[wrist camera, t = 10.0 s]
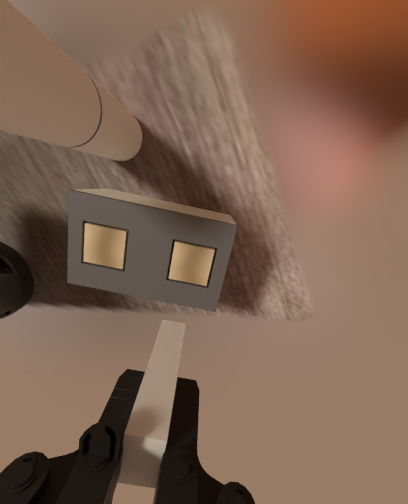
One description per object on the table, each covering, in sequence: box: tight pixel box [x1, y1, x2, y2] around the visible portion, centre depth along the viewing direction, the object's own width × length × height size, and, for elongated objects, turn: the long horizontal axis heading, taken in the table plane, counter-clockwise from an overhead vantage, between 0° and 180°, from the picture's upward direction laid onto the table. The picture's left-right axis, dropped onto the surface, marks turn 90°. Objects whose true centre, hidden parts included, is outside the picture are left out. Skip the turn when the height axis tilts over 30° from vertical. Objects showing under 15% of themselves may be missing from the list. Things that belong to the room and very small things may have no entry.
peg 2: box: [169, 240, 215, 286], centre depth 31 cm, size 5×5×8 cm
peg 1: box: [83, 222, 129, 269], centre depth 30 cm, size 5×5×8 cm
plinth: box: [67, 189, 238, 312], centre depth 32 cm, size 20×12×10 cm, turn 78°
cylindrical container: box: [0, 0, 142, 161], centre depth 20 cm, size 7×7×25 cm
